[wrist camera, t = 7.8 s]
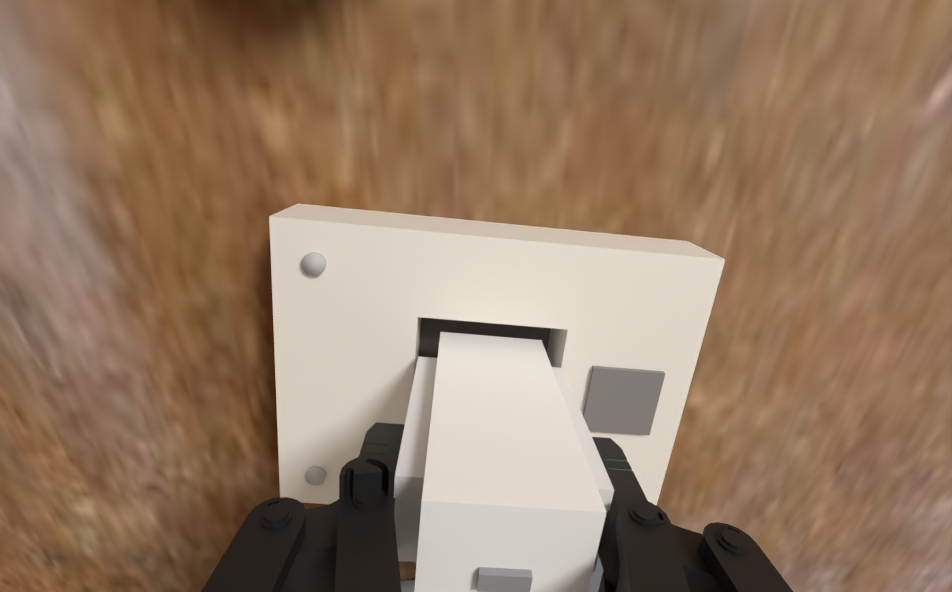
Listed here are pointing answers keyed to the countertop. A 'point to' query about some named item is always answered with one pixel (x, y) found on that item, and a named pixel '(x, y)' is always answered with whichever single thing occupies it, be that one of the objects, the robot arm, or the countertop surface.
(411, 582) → the grey rod
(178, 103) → the countertop surface
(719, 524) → the robot arm
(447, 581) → the charger block
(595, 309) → the outlet plate
